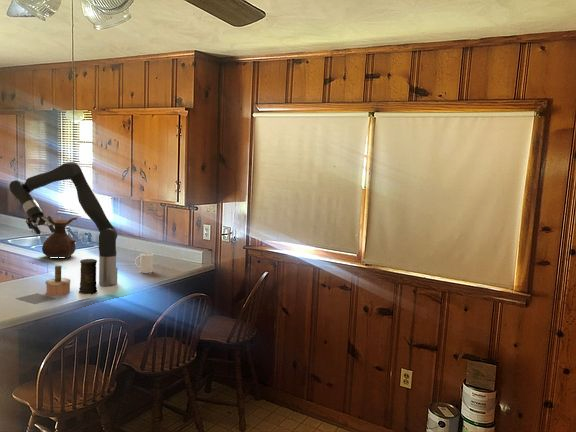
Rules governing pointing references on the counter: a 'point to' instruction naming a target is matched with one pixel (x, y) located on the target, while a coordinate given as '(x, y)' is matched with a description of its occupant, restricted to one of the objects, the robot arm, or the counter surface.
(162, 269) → the counter surface
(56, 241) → the brown vase
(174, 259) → the counter surface
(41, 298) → the mat
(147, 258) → the mug
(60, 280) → the lid
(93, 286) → the container
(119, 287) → the counter surface
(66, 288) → the bowl
